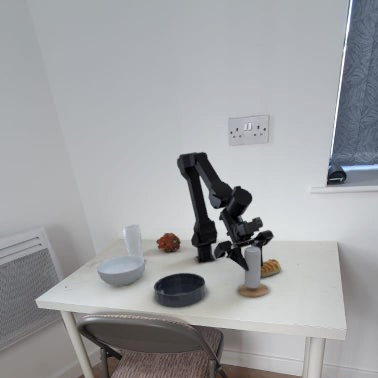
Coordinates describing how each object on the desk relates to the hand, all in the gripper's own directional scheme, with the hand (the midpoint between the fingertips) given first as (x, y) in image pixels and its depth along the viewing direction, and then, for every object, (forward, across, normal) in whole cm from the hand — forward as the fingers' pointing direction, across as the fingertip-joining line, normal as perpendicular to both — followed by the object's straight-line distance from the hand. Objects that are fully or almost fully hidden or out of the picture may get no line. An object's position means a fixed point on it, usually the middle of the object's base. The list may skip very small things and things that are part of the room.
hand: (254, 268), depth 98 cm
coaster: (+5, 0, +6) cm, 8 cm away
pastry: (-1, +12, +12) cm, 17 cm away
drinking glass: (-29, -24, +41) cm, 55 cm away
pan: (-3, -20, +14) cm, 25 cm away
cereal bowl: (-18, -33, +30) cm, 49 cm away
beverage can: (+4, 0, +6) cm, 7 cm away
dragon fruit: (-32, -8, +44) cm, 55 cm away
